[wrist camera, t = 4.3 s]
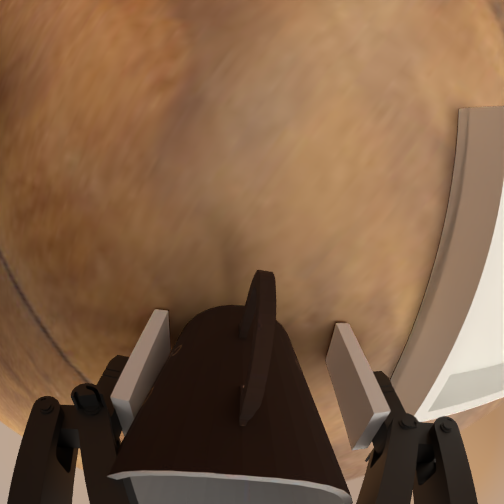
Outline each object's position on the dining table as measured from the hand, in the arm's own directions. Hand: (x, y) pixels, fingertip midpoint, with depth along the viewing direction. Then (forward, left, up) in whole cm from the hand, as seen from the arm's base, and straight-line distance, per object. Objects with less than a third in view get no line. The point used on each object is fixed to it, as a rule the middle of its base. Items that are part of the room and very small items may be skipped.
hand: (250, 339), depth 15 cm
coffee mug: (0, 0, 0) cm, 0 cm away
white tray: (+19, +5, 0) cm, 20 cm away
